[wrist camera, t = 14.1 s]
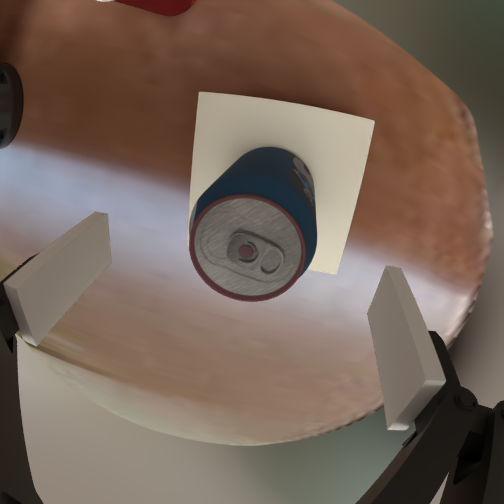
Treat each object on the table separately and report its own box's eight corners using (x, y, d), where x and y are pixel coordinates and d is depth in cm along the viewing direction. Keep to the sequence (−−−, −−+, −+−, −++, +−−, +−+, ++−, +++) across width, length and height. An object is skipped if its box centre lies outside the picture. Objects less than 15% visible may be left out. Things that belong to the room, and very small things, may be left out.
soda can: (218, 204, 27) (162, 277, 17) (248, 130, 24) (202, 158, 14) (291, 237, 28) (279, 329, 17) (328, 167, 24) (345, 224, 14)
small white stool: (214, 209, 39) (187, 245, 30) (227, 92, 32) (199, 91, 23) (330, 231, 38) (336, 274, 29) (355, 114, 31) (374, 121, 22)
